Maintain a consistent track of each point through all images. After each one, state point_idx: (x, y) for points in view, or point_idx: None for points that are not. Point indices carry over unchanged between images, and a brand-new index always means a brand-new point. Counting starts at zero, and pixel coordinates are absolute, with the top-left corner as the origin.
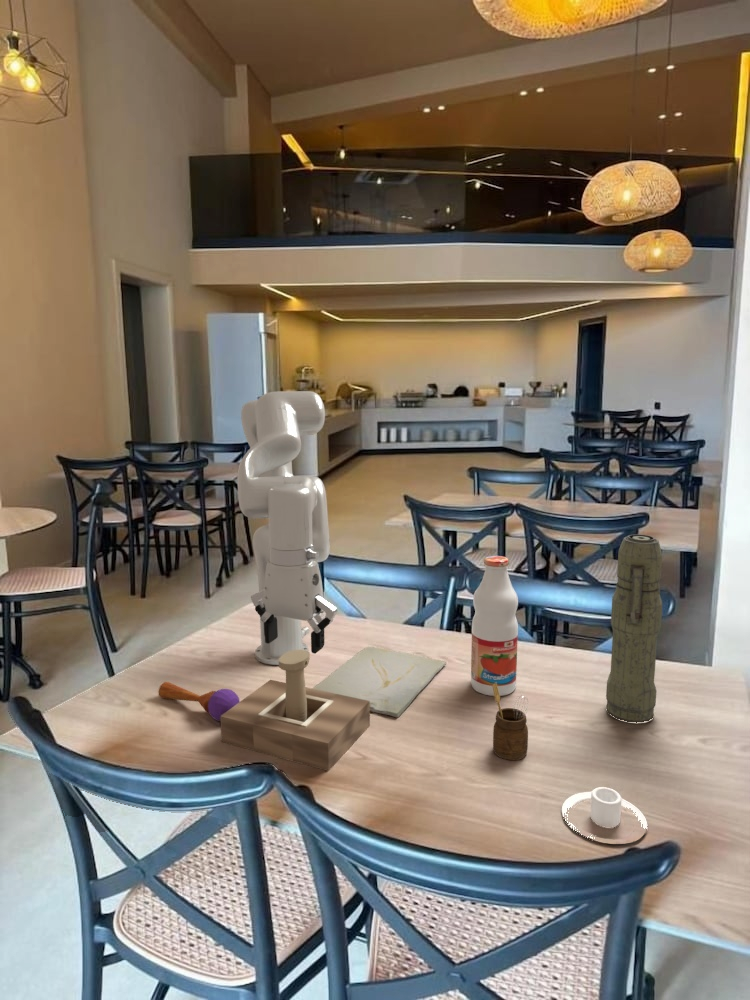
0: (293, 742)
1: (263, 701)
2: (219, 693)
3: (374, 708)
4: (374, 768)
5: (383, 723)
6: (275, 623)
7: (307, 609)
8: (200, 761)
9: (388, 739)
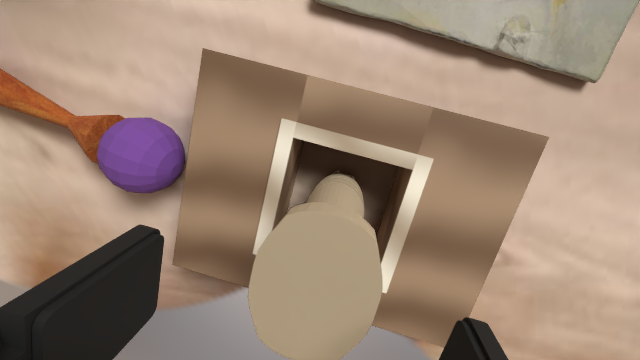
0: None
1: (238, 185)
2: (114, 173)
3: (525, 58)
4: (530, 292)
5: (546, 113)
6: (77, 319)
7: None
8: (199, 298)
9: (561, 185)
